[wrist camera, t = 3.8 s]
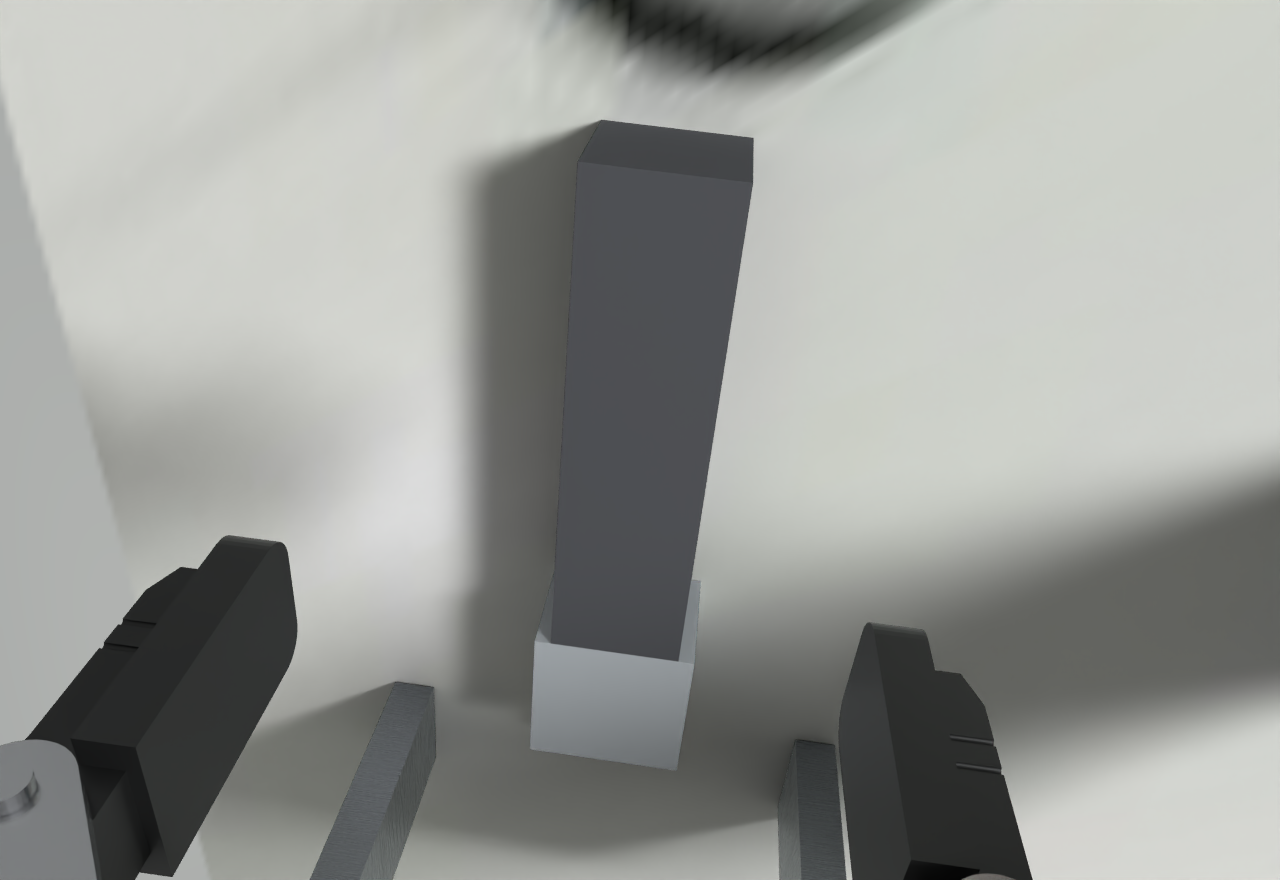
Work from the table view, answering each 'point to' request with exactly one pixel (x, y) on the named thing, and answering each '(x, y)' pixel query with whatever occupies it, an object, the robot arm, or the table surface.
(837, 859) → the u-shaped bracket
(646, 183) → the grey two-tone block
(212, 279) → the table surface
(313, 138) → the table surface
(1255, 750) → the table surface
